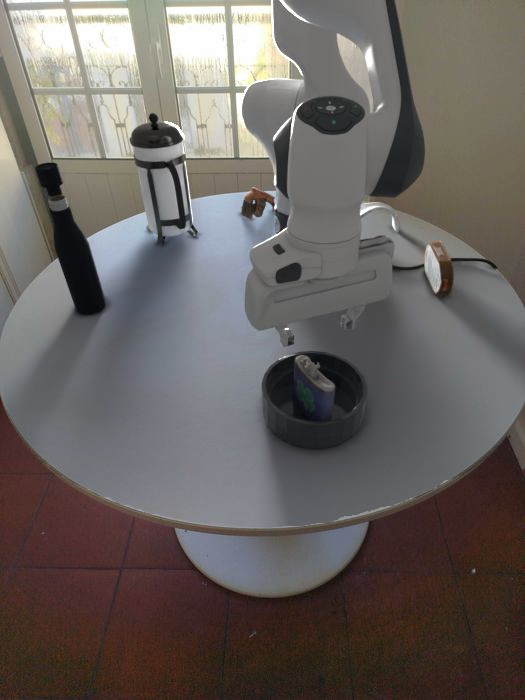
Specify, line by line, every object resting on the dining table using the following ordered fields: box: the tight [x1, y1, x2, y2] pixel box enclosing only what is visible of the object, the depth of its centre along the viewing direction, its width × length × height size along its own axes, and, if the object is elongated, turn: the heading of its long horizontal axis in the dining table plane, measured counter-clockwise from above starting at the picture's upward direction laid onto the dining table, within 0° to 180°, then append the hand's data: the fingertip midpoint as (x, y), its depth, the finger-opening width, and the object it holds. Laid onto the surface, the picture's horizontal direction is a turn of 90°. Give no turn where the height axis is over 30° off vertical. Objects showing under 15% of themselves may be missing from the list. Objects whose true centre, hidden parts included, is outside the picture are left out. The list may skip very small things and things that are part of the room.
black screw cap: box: [261, 350, 368, 449], centre depth 75 cm, size 16×16×6 cm
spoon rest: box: [360, 201, 401, 232], centre depth 123 cm, size 24×12×7 cm, turn 93°
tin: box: [423, 239, 455, 296], centre depth 102 cm, size 15×3×8 cm, turn 178°
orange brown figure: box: [240, 186, 276, 220], centre depth 133 cm, size 12×10×8 cm
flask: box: [293, 355, 336, 422], centre depth 72 cm, size 9×3×11 cm, turn 29°
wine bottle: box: [34, 162, 107, 316], centre depth 92 cm, size 6×6×30 cm
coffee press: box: [129, 112, 199, 245], centre depth 117 cm, size 17×16×30 cm
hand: (317, 335), depth 67 cm, fingers open, 8 cm apart
